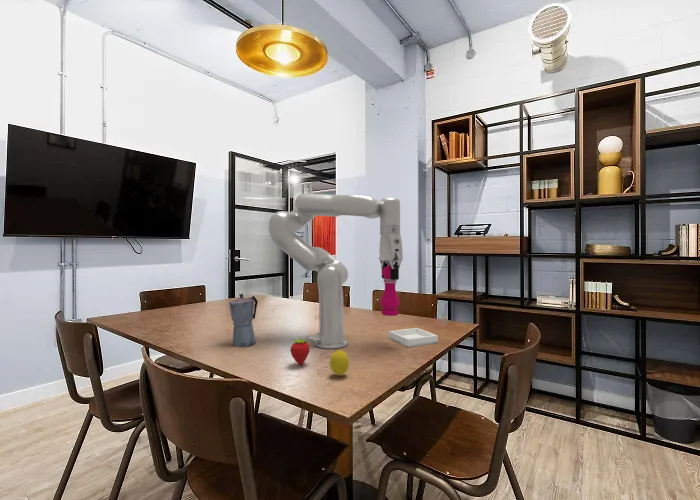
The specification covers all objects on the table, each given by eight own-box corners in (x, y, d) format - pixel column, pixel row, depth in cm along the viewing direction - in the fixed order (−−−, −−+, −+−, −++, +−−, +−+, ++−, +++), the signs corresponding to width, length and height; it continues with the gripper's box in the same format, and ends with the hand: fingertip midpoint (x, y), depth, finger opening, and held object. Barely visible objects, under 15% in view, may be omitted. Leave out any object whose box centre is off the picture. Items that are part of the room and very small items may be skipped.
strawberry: (286, 368, 113) (286, 337, 113) (297, 360, 120) (297, 331, 120) (303, 370, 111) (302, 338, 111) (313, 362, 118) (313, 333, 118)
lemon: (330, 373, 109) (329, 347, 109) (348, 372, 109) (347, 346, 109) (330, 380, 103) (330, 352, 103) (349, 379, 104) (349, 352, 104)
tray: (407, 347, 135) (407, 339, 135) (389, 338, 148) (389, 331, 148) (437, 342, 141) (437, 335, 141) (416, 334, 154) (417, 327, 154)
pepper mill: (398, 316, 130) (398, 262, 130) (379, 315, 132) (379, 261, 131) (400, 312, 137) (400, 261, 137) (381, 312, 139) (381, 260, 138)
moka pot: (220, 347, 136) (220, 295, 136) (246, 337, 150) (246, 290, 150) (241, 350, 132) (240, 296, 132) (265, 339, 147) (265, 291, 146)
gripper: (411, 230, 127) (411, 280, 128) (387, 231, 143) (387, 276, 144) (393, 230, 124) (393, 281, 125) (370, 231, 140) (370, 277, 141)
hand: (390, 278), depth 134 cm, fingers closed on pepper mill, 5 cm apart
